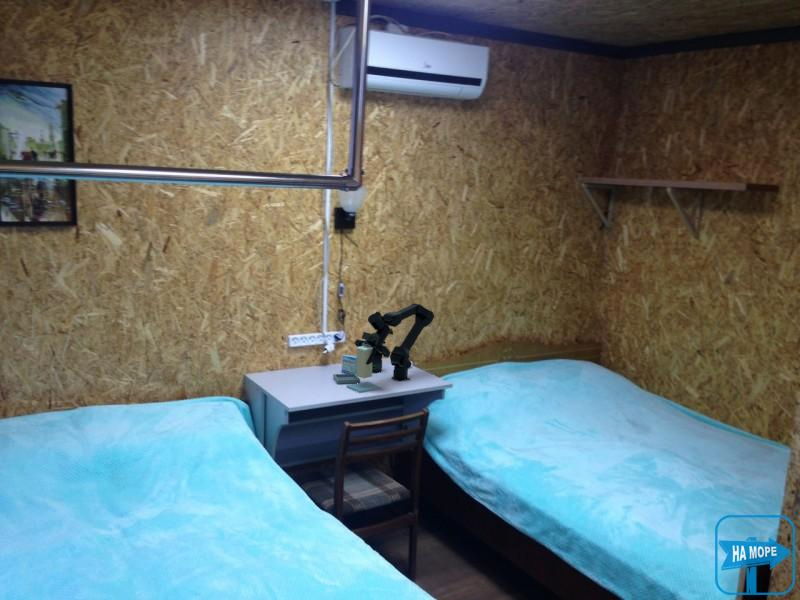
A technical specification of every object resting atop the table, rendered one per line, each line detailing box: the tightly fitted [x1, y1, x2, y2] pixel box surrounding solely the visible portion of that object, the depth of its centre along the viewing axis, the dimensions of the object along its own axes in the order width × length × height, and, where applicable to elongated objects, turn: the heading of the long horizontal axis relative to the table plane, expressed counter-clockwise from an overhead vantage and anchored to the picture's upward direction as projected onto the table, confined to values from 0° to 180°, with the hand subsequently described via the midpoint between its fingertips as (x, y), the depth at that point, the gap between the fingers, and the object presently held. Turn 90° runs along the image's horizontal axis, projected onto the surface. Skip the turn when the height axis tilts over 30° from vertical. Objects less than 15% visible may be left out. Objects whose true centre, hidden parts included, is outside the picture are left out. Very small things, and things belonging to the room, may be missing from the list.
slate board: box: [346, 381, 382, 394], centre depth 313 cm, size 12×10×1 cm
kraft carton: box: [356, 346, 373, 379], centre depth 311 cm, size 5×5×14 cm
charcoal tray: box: [332, 373, 361, 385], centre depth 323 cm, size 11×11×2 cm
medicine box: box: [341, 354, 357, 375], centre depth 337 cm, size 8×4×9 cm, turn 62°
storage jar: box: [363, 339, 384, 374], centre depth 343 cm, size 10×10×15 cm
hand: (362, 363), depth 310 cm, fingers closed on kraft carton, 5 cm apart
